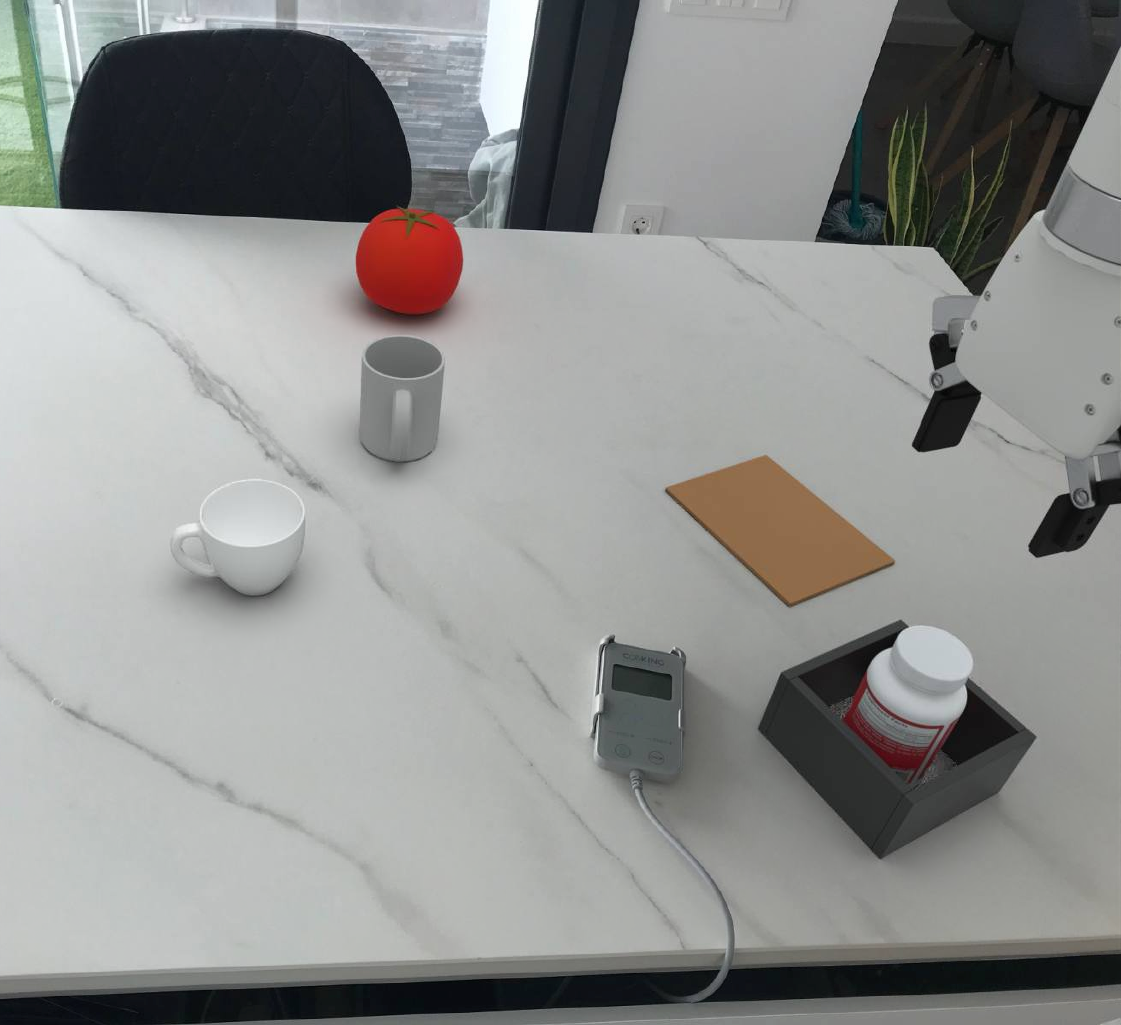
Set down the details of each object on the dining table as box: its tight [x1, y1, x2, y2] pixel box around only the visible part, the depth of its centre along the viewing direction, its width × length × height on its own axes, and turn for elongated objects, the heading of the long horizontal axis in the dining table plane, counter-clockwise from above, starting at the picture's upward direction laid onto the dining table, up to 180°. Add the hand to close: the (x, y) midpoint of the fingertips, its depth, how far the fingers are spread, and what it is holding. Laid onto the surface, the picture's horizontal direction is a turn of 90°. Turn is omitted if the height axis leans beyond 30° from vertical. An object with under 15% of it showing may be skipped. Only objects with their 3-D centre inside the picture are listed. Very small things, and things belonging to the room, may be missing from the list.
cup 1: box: [170, 478, 306, 597], centre depth 82 cm, size 8×10×7 cm
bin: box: [757, 619, 1038, 860], centre depth 73 cm, size 12×12×6 cm
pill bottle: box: [841, 624, 974, 790], centre depth 71 cm, size 6×6×11 cm
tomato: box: [355, 205, 464, 315], centre depth 115 cm, size 11×12×10 cm
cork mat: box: [664, 454, 896, 607], centre depth 93 cm, size 16×12×1 cm
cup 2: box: [358, 334, 446, 463], centre depth 95 cm, size 7×10×9 cm
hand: (989, 495), depth 63 cm, fingers open, 9 cm apart
